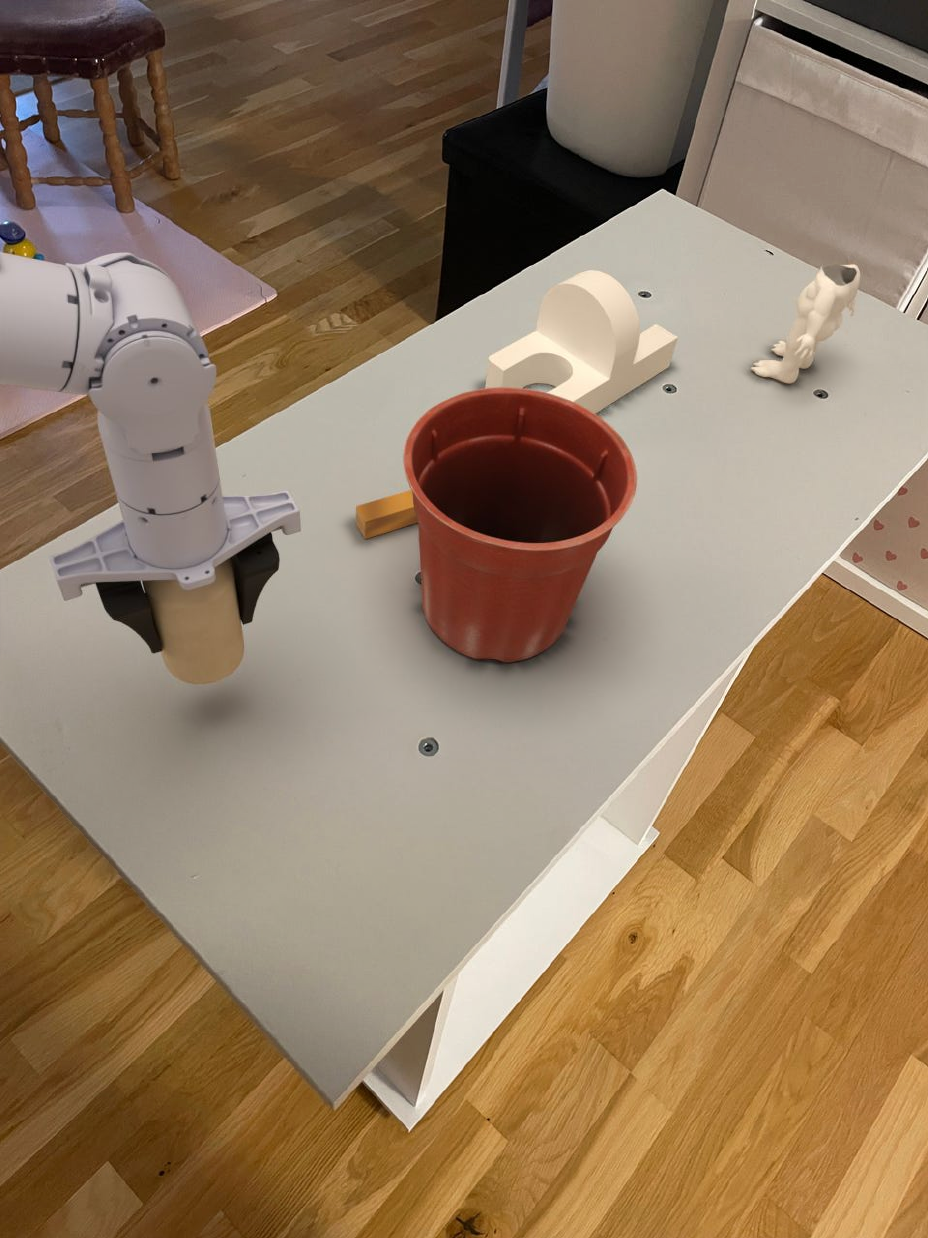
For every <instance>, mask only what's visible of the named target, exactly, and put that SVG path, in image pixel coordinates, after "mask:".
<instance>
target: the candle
mask: <svg viewBox="0 0 928 1238" xmlns="http://www.w3.org/2000/svg"><path fill="white" fill-rule="evenodd" d="M214 570H215V575H216V579H215V581H214V582H213V583H211V584H208V585H205V586H202V587H198V588H195V589H192V590H185V589H182V588H181V587H180V585H179V582H178V581H177V580H147V581H141V583H142V587H143V590H144V592H145V595H146V597H147V600H148V602H149V605H150V608H151V615H152V620H153V625H154V627H155V630H156V632H157V634H158V637H159V639H160V642H161V645H162V649H163V651H161V652H160V654H161V658H162V661H163V663H164V665H165V667H166V669H167V671H168V672H169V673H170V674H171V675H172V676H173V677H174V678H176V679H178V680H179V681H181V682H184V683H186V684H192V685H210V684H214V683H217V682H219V681H222V680H225V678H227V677H229V676H230V675H231V674H233V673H234V672H235V671H236V670H238V669H237V668H238V667H239V666H240V664H241V663H242V661H243V658H244V654H245V641H244V640H245V639H244V633H243V627H242V621H241V619H240V613H239V606H238V600H237V593H236V587H235V580H234V574H233V568H232V563H231V560H230V558H229V559H227V560H225V561H224V562H222V563H221V564H219V565H218V566H216V567H215V568H214Z"/></svg>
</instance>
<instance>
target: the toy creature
mask: <svg viewBox="0 0 928 1238" xmlns="http://www.w3.org/2000/svg"><path fill="white" fill-rule="evenodd" d="M860 281H861V271H860V269H859V267H858V265H857V264H853V263H851V264H838V263H834V264H821V266H820V268H819V271H818V272H817V273H816V276H815V278H814V279H813V280H812V281H811V282H810V283H809V284H807V285H806V286H805V287H804V289H802V291H801V292H800V294H799V296H798V299H797V301H796V302H797V303H796V309H797V316H796V317H795V319H794V321H793V323H792V325H791V328H790V329H789V333H788V336H787V338H786V339H785V340H778V343H775V344H773V348H771V349H770V350H771V351H772V352H773V353H774V354H775V355H777V356H781V357H783V358H782V360H781V361H779V360H775V359H769V360H768V359H761V360H758V361H757V362H754V363H753V365H754V366H751V367H750V369H751V370H752V371H753V372H754V374H755V375H757V376H760V377H762V378H772V379H774V380H776V381H779V382H781V383H785V384H793V383H795V382H796V381H797V379H798V377H799V374H800V369H802V370H803V369H805V370H806V369H808V368H810V367H811V365H812V363H813V361H814V358H815V357H814V356H815V353H816V351H817V350H818V348H819V345H820V342H826V341H827V340H828V339H829V338H831V337H832V336H833V334H834V333H835V332H836V331H838V330H839V329H840V327H841V325H842V323H843V314H842V312H843V311H844V310H845V309H846V308H847V309H848V311H849V312H851V313H850V314H849V315H850V317H853V316H854V314H855V307H856V297H857V294H858V291H859V287H860V286H859V285H860Z"/></svg>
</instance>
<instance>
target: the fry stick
mask: <svg viewBox="0 0 928 1238" xmlns="http://www.w3.org/2000/svg"><path fill="white" fill-rule="evenodd" d="M415 524H418V518H417V516H416V513H415V509H414V505H413V494H412V490H411V489H409V490H406V491H403V492H399V493H395V494H393V495H389V496H386V497H382V498H379V499H376V500H373V501H369V502H366V503H363V504H359V505H356V506H355V525H356V526H357V528H358V530H359V531H360V533H361V535H362V537H363V538H364V539H365V540H367V539H370V538H374V537H377V536H380V535H384V534H387V533H390V532H392V531H395V530H399V529H403V528H405V527H408V526H412V525H415Z"/></svg>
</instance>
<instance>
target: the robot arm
mask: <svg viewBox="0 0 928 1238" xmlns="http://www.w3.org/2000/svg"><path fill="white" fill-rule="evenodd" d="M192 316H193V315H191V312H190V310H189V308H188V306H187V303H186V300H185V299H184V296H183V294H182V292H181V291H180V289H179V288H178V286H177V285H176V284H175V282H174V280H173V278H171V276H170V275H169V274H168V273H167V272H166V271H165V269H163V268H161V267H160V266H159V265H156V264H155V263H153V262H151V261H149V260H146V259H143V258H139V257H138V256H136V255H135V254H133V253H131V252H114V253H109V254H104V255H101V256H98V257H96V258H94V259H92V260H89V261H88V262H85V263H81V264H77V263H75V264H74V263H70V262H65V264H61V263H55V262H52V261H47V260H41V259H36V258H32V257H27V256H22V255H17V254H12V253H7V252H3V251H0V385H3V386H10V387H18V388H24V389H25V388H26V389H32V390H40V391H48V392H55V393H63V394H72V395H79V396H80V395H81V396H89V398H90V400H91V402H92V404H93V405H94V407H95V408H96V410H97V428H98V432H99V435H100V439H101V442H102V447H103V450H104V455H105V458H106V461H107V465H108V469H109V473H110V477H111V481H112V484H113V488H114V491H115V496H116V499H117V503H118V506H119V510H120V514H121V517H122V519H121V520H120V521H118V522H116V523H115V524H113V525H111V526H109V527H108V528H106V529H104V530H103V531H101V532H99V533H97V534H95V535H94V536H92V537H90V538H88V539H87V540H85V541H83V542H81V543H79V544H78V545H76V546H74V547H72V548H70V549H67V550H64V551H63V552H62V551H61V552H59V553H56V554H53V555H50V556H48V559H49V563H50V565H51V569H52V571H53V574H54V577H55V580H56V583H57V585H58V588H59V590H60V593H61V596H62V599H63V601H64V602H67V601H70V600H73V599H77V598H80V597H81V596H82V595H83V589H82V588H85V587H89V586H92V585H95V587H96V590H97V593H98V595H99V598H100V600H101V603H102V606H103V609H104V611H105V612H106V614H107V615H108V616H109V617H110V618H111V619H112V620H113V621H116V622H119V623H121V624H123V625H125V626H127V627H128V628H130V629H131V630H132V631H134V632H135V633H136V634H137V635H138V636H139V637H140V638H141V639H142V640H143V641H144V643H145V644H146V645H147V646H148V648H149V650H150V652H151V654H153V655H155V654H157V653H161V651H163V649H162V645H161V642H160V639H159V637H158V634H157V632H156V630H155V627H154V625H153V620H152V615H151V608H150V605H149V602H148V600H147V597H146V595H145V591H144V588H143V584H142V581H147V580H177V581H178V582H179V585H180V587H181V588H182V589H185V590H192V589H195V588H198V587H202V586H205V585H208V584H211V583H213V582H214V581H215V579H216V575H215V570H214V568H215V567H216V566H218V565H219V564H221V563H222V562H224V561H225V560H227V559H229V558H230V560H231V563H232V568H233V574H234V580H235V587H236V593H237V600H238V606H239V613H240V619H241V625H243V626H244V625H247V624H250V623H252V622H253V619H254V614H255V610H256V608H257V603H258V601H259V598H260V595H261V593H262V592H263V589H264V588H265V586H266V584H267V583H268V582H269V580H270V579H271V578H272V577H273V576H274V575H275V574H276V573H277V572H278V571H279V569H280V560H281V559H280V552H279V550H278V548H277V546H276V544H275V542H274V539H273V533H274V532H277V531H280V530H281V532H282V534H283V535H285V536H290V535H294V534H297V533H300V532H302V526H301V525H302V524H301V511H300V510H301V509H300V508H299V507H298V505H297V502H296V501H295V498H294V497H293V495H292V494H291V492H290V490H289V489H286V490H282V491H277V492H271V493H263V494H231V495H230V494H229V495H223V490H222V483H221V482H222V481H221V476H220V469H219V468H220V467H219V462H218V455H217V448H216V442H215V436H214V435H215V434H214V428H213V423H212V422H213V421H212V416H211V410H210V407H209V405H208V403H207V401H208V399H209V398H210V396H211V395H212V393H213V391H214V389H215V385H216V381H217V373H218V372H217V366H216V364H214V363H211V358H210V355H209V351H208V348H207V347H206V344H205V342H204V340H203V337H202V336H201V333H200V331H199V329H198V327H197V324H196V323H195V320H194V318H193V317H192Z"/></svg>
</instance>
